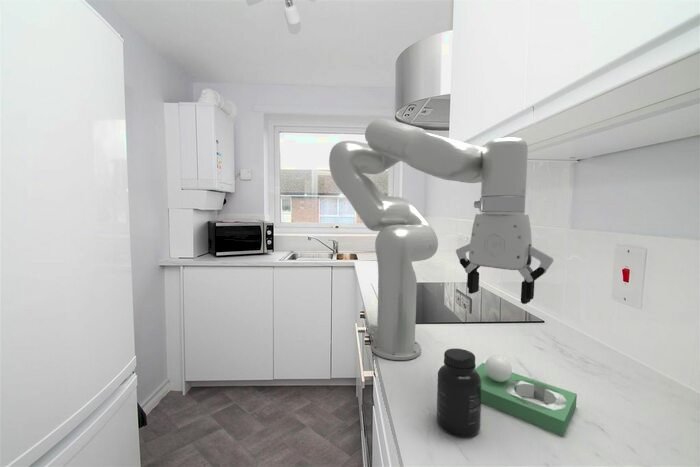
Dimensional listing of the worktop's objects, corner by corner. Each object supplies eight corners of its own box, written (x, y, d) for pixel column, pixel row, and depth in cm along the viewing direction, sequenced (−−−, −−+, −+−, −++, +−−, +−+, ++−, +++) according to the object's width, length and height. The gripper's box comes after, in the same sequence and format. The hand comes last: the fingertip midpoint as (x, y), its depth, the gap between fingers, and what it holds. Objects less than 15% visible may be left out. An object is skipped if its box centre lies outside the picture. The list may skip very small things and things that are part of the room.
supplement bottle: (469, 412, 57) (472, 345, 56) (487, 439, 50) (491, 363, 50) (431, 412, 57) (433, 345, 56) (443, 439, 50) (446, 363, 49)
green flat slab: (459, 393, 63) (460, 381, 63) (482, 373, 71) (482, 362, 71) (563, 436, 51) (564, 421, 51) (575, 407, 59) (576, 393, 59)
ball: (480, 380, 63) (481, 356, 63) (489, 371, 67) (490, 349, 66) (506, 389, 60) (507, 364, 60) (514, 380, 63) (516, 356, 63)
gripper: (449, 206, 64) (446, 292, 65) (549, 206, 52) (543, 311, 53) (467, 207, 70) (464, 286, 71) (561, 207, 57) (555, 303, 58)
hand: (498, 297), depth 62 cm, fingers open, 9 cm apart
